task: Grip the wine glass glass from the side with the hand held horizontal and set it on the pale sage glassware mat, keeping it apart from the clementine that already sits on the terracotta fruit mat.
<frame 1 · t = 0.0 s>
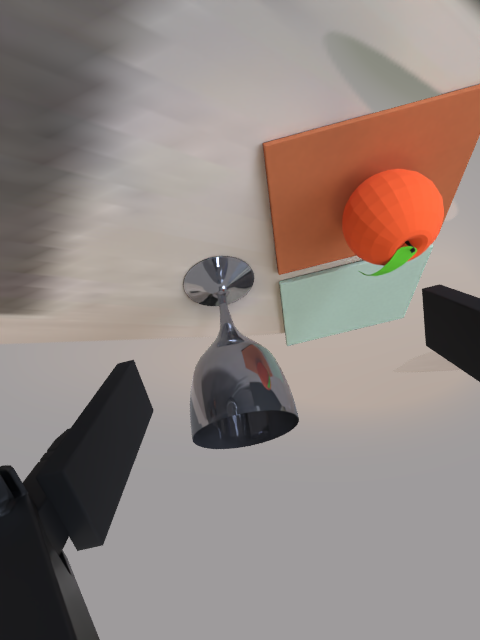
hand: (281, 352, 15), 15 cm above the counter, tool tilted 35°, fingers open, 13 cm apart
fruit mat: (364, 195, 27), on the counter
glass mat: (348, 300, 39), on the counter
wine glass: (219, 281, 33), on the counter
clementine: (366, 197, 27), resting on fruit mat
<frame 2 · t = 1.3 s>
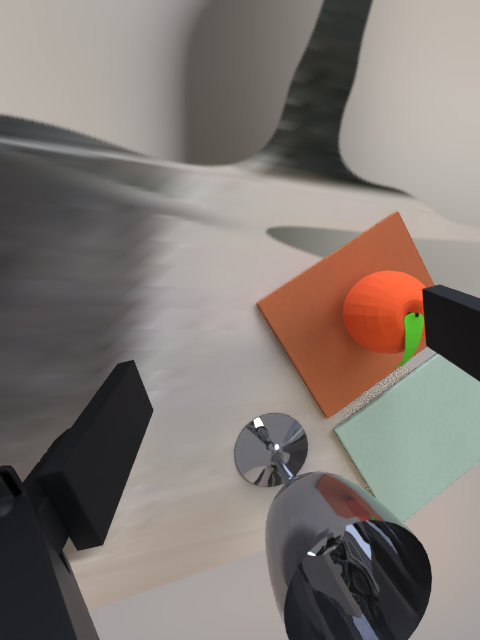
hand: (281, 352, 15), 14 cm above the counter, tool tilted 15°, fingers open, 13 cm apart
fruit mat: (359, 315, 31), on the counter
glass mat: (424, 432, 34), on the counter
wine glass: (271, 449, 31), on the counter
clementine: (361, 315, 31), resting on fruit mat
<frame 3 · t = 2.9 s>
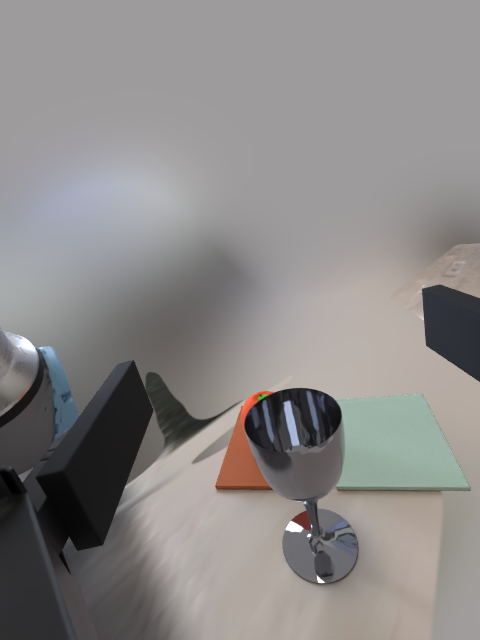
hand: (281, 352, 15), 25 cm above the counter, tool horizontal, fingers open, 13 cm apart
fruit mat: (274, 441, 46), on the counter
glass mat: (385, 437, 42), on the counter
wine glass: (319, 543, 31), on the counter
clementine: (274, 439, 46), resting on fruit mat
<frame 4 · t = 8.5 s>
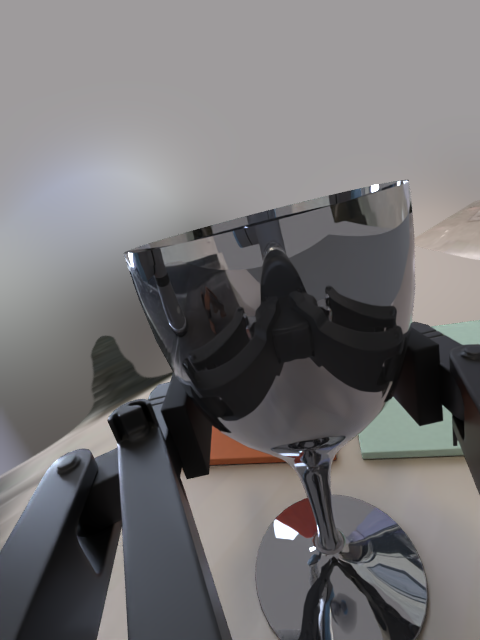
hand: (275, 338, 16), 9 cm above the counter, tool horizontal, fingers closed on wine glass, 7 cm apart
fruit mat: (254, 394, 29), on the counter
glass mat: (437, 376, 25), on the counter
wine glass: (335, 567, 14), on the counter, touching gripper
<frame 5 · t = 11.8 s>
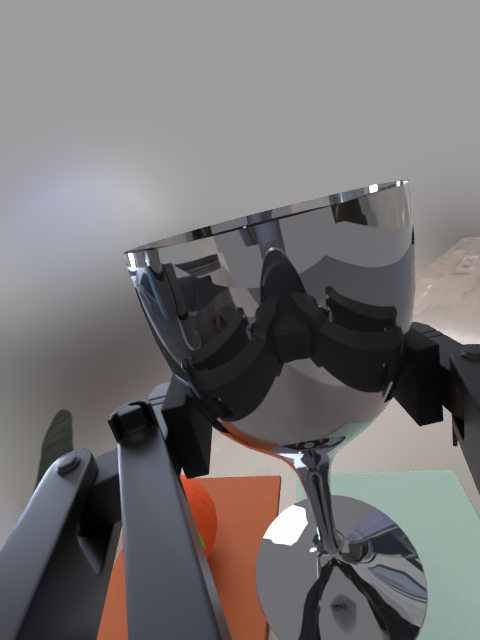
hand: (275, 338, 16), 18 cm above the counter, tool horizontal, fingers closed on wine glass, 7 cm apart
fruit mat: (190, 566, 25), on the counter
glass mat: (393, 574, 21), on the counter
wine glass: (334, 567, 14), point 9 cm above the counter, touching gripper
clementine: (189, 563, 25), resting on fruit mat
when the fingers open (9 cm above the counter, at t = 15.3 s): wine glass stays where it is, resting on glass mat.
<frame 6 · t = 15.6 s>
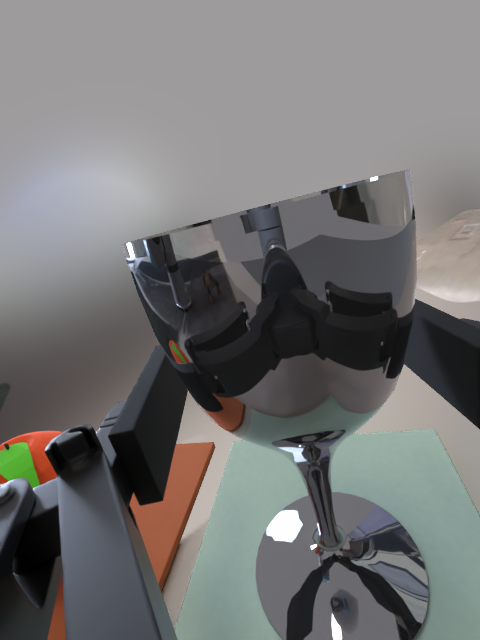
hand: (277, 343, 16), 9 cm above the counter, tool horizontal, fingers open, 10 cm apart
fruit mat: (70, 555, 18), on the counter
glass mat: (334, 568, 14), on the counter
wine glass: (335, 564, 14), resting on glass mat
clementine: (68, 551, 18), resting on fruit mat
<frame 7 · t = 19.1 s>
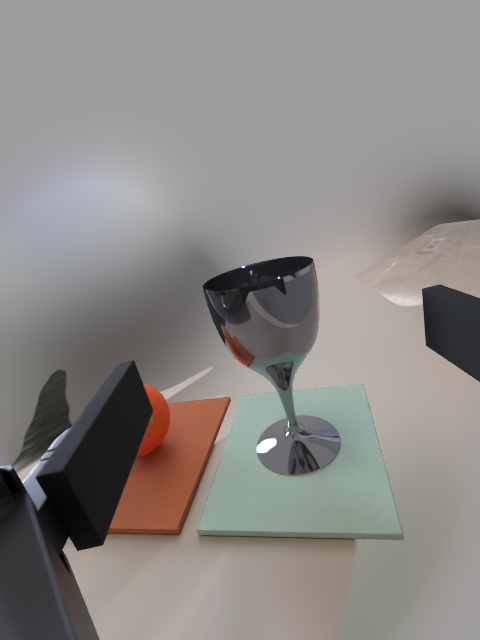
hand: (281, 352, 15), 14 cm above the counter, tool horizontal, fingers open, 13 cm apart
fruit mat: (149, 454, 32), on the counter
glass mat: (297, 446, 28), on the counter
wine glass: (297, 444, 28), resting on glass mat
clementine: (148, 452, 32), resting on fruit mat
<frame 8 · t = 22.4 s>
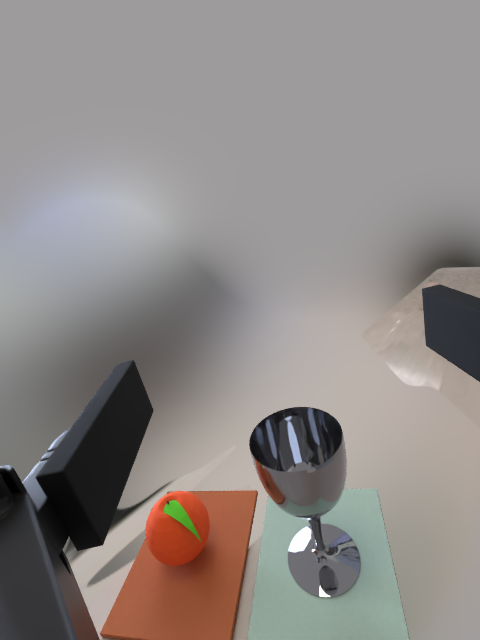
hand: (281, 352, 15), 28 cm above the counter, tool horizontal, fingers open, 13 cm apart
fruit mat: (191, 554, 37), on the counter
glass mat: (323, 560, 33), on the counter
wine glass: (323, 558, 32), resting on glass mat
clementine: (190, 552, 36), resting on fruit mat
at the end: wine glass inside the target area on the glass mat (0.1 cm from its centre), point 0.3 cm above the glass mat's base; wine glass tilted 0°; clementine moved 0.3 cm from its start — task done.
